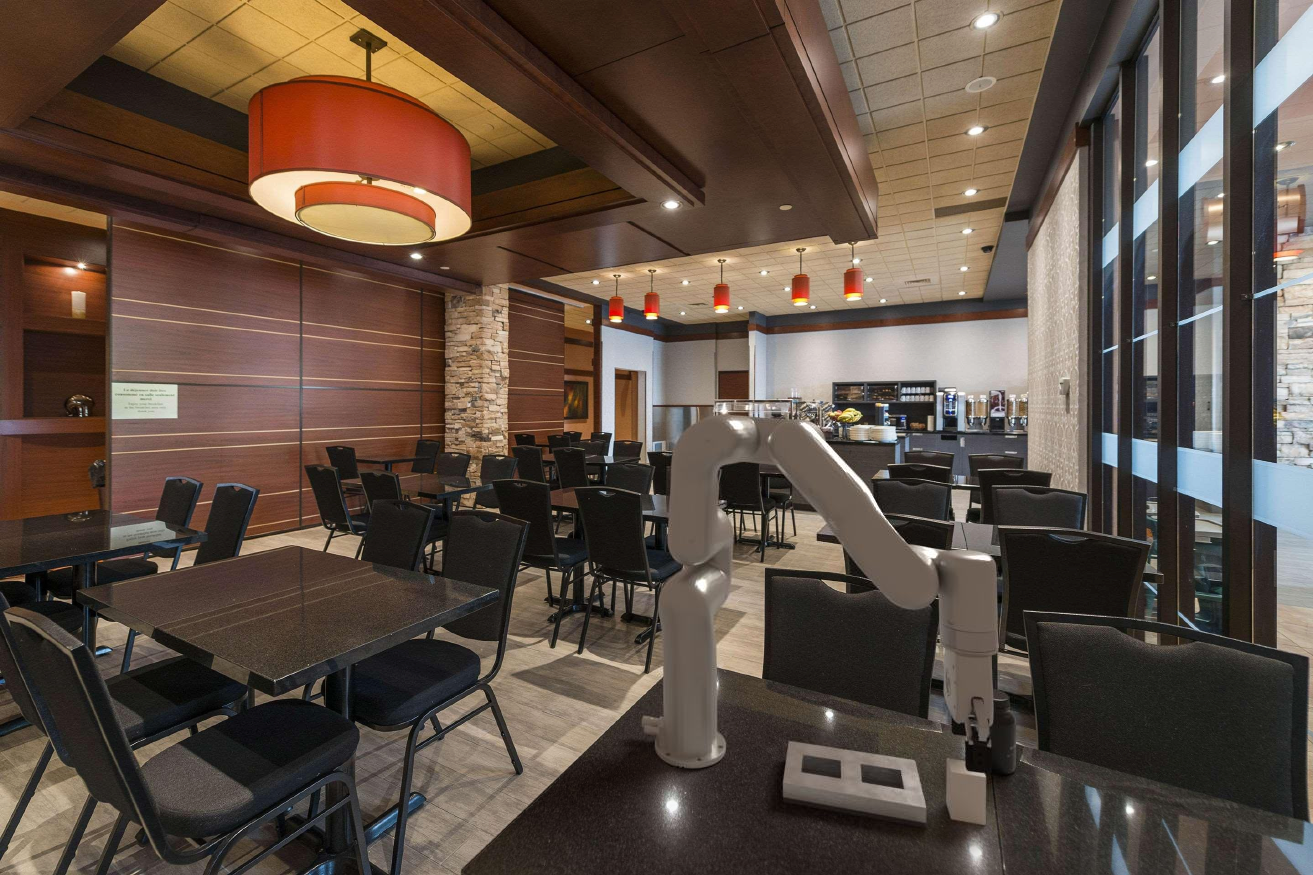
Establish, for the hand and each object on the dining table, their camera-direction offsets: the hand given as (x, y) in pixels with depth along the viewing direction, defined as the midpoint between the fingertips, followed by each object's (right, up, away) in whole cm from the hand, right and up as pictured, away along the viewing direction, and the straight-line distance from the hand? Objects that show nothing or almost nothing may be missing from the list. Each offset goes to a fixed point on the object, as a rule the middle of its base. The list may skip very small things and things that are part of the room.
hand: (970, 752), depth 84 cm
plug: (0, -9, 0) cm, 9 cm away
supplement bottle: (+11, -9, +13) cm, 19 cm away
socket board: (-15, -9, +6) cm, 19 cm away
